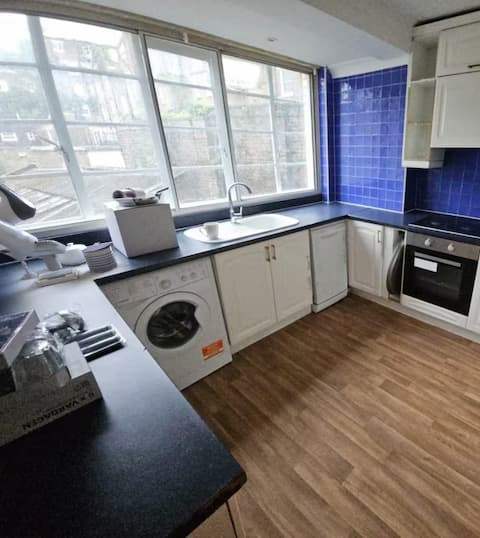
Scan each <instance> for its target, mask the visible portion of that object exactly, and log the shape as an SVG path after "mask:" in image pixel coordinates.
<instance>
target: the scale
mask: <svg viewBox="0 0 480 538" xmlns="http://www.w3.org/2000/svg"><path fill="white" fill-rule="evenodd" d="M78 274H79V271H78V268H77V267H76V266H75V267H74V266H72V267H67V268H62V269H60V270H58V271H47V272H42V273H41V274H39V275H38V278H37V281H36V285H37V286H38V287H39V288H42V287H45V286H49V285H54V284H60V283H64V282H68V281H72V280H76V279H78Z"/></svg>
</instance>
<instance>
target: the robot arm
mask: <svg viewBox="0 0 480 538" xmlns="http://www.w3.org/2000/svg"><path fill="white" fill-rule="evenodd" d="M36 213H37V208H36V206H35V205H34V204H33V203H32V202H31V201H30V200H28V199H27V198H25V197H23V196H22V195H20V194H19V193H17V192H15V191H14V190H13V189H11V188H10V187H8V186H7V185H5V184H4V183H3V182H1V181H0V254H3V255H7V256H9V257H11V258H12V257H26V258H27V257H32V258H37V259H42V260H43V258H42V256H41V255H53V256H54V257H57V258H58V257H60V254H64V253H65V251H66V245H65V244H63V243H61V242H58V241H55V240H52V239H45V240H43V239H42V240H39V238H38V237H36V236H35V235H33V234H31V233H29V232H27V231H25V230H22V229H19V227H17V226H16V225H18V224H19V223H22V222H24V221H27V220H30V219H33V218H34V217H35V216H36Z"/></svg>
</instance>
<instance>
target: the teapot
mask: <svg viewBox="0 0 480 538" xmlns="http://www.w3.org/2000/svg"><path fill="white" fill-rule="evenodd" d="M97 244H101V242H95V243H94V244H93V245H97ZM66 245H67V246H66ZM66 245H65V246H66V251H65V253H64V254H60V257H57V258H58V260H59V262H60V264H61V265H66V266H75V265H80V264H84V263H87V262H86V260H85V257H84V255H83V253H82V251H81V250H83V249H85V248H87V247H88V246H86V245H85V244H81V243H80V244H79V243H78V244H74V242H69V243H66Z"/></svg>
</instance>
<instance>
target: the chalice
mask: <svg viewBox="0 0 480 538" xmlns="http://www.w3.org/2000/svg"><path fill="white" fill-rule="evenodd" d="M11 258H12V259H14V260H16V262H17V261H18V262H20V263H21V266H23V270H25V272H24V273H23V278H22V279H23V280H30V279H34V278H37V277H39V274H37V273H36V272H34V271H31V270H29V266H27V263H26V261H25V260H26V259H27V257H11Z"/></svg>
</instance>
